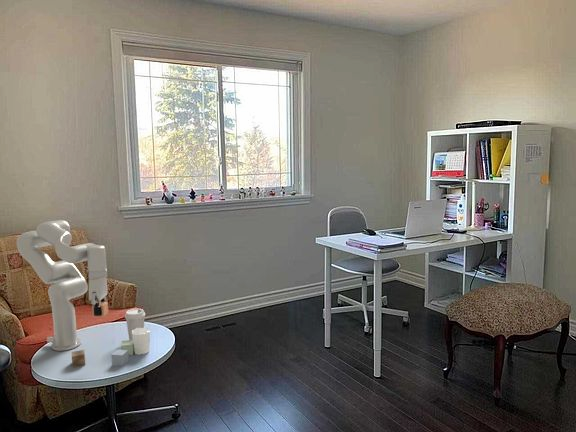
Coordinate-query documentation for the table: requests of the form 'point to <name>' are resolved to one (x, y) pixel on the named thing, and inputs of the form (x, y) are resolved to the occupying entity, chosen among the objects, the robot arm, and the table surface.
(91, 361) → the table surface
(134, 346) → the white cup
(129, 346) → the sage block
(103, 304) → the terracotta block
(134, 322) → the coffee cup
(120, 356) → the slate block
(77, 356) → the walnut block
